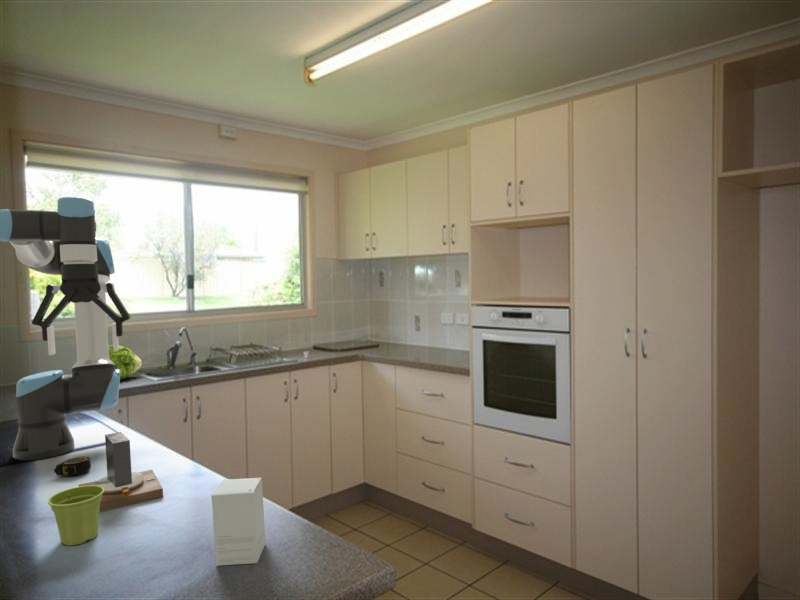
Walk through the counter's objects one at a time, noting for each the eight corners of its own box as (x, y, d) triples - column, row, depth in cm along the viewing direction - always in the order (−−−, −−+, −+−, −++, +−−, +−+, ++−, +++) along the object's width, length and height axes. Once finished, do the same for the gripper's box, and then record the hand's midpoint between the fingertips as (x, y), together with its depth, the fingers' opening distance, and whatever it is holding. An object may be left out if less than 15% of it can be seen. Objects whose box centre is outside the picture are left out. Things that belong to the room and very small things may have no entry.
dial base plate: (78, 492, 128) (78, 483, 128) (152, 477, 137) (152, 468, 137) (82, 515, 116) (81, 505, 115) (163, 497, 124) (162, 487, 124)
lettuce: (147, 379, 275) (148, 344, 278) (97, 381, 258) (98, 343, 261) (131, 381, 288) (132, 346, 291) (82, 382, 271) (84, 346, 273)
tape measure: (74, 468, 145) (73, 455, 145) (97, 469, 144) (96, 455, 144) (54, 478, 139) (53, 464, 139) (77, 479, 137) (76, 464, 137)
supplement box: (266, 543, 101) (263, 476, 101) (257, 564, 94) (254, 492, 93) (226, 545, 101) (223, 478, 100) (214, 566, 94) (210, 494, 93)
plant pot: (42, 554, 100) (39, 508, 99) (60, 531, 109) (57, 488, 108) (99, 546, 102) (96, 500, 102) (111, 524, 111) (109, 482, 111)
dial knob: (137, 473, 133) (135, 428, 133) (150, 487, 124) (147, 439, 124) (91, 484, 127) (88, 437, 126) (100, 499, 118) (97, 448, 117)
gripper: (139, 262, 137) (144, 346, 138) (23, 265, 129) (29, 354, 130) (134, 261, 129) (139, 350, 131) (12, 264, 122) (18, 358, 123)
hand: (84, 352), depth 130 cm, fingers open, 13 cm apart
